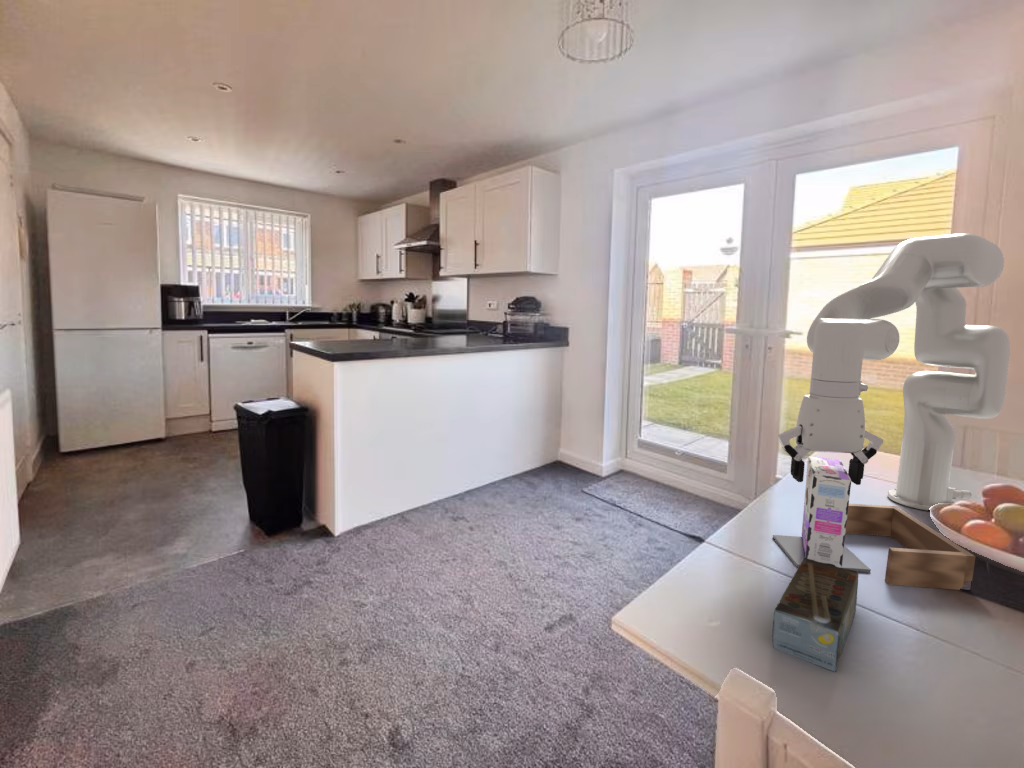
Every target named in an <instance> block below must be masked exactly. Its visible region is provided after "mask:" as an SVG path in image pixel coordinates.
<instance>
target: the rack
mask: <svg viewBox="0 0 1024 768" xmlns="http://www.w3.org/2000/svg"><path fill="white" fill-rule="evenodd" d="M845 534H849V535H852V534H853V535H864V536H865V535H867V536H881V537H891V538H892V539H894V540H895V541H896V542H897V543H899V544H900V545H901V546H902V547H904V548H901V547H888V549H887V550H888V551H887V560H886V566H885V575H884V581H885V583H887V584H888V585H890V586H906V587H917V588H931V589H943V590H957V591H961V590H960V588H962V587H963V586H964V585H965V584H966V583H968V582H971V581H972V582H973V578H974V577H973V576H974V570H975V564H976V563H975V562H976V556H975V555H974V554H973V553H971V552H969V551H968V550H966V549H965V548H963V547H962V546H960V545H958V544H957V543H956V542H954V541H953V540H950V539H949V538H947V537H946V536H944V535H943V534H941V533H939V532H938V531H936V530H935V529H933V528H932V527H930V526H928V525H927V524H925V523H924V522H922V521H921V520H919V519H917V518H916V517H914V516H913V515H911V514H909V513H908V512H906V511H904V510H903V509H902V508H900V507H898V506H895V505H883V504H882V505H878V504H863V503H849V505H848V514H847V523H846V531H845Z"/></svg>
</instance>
